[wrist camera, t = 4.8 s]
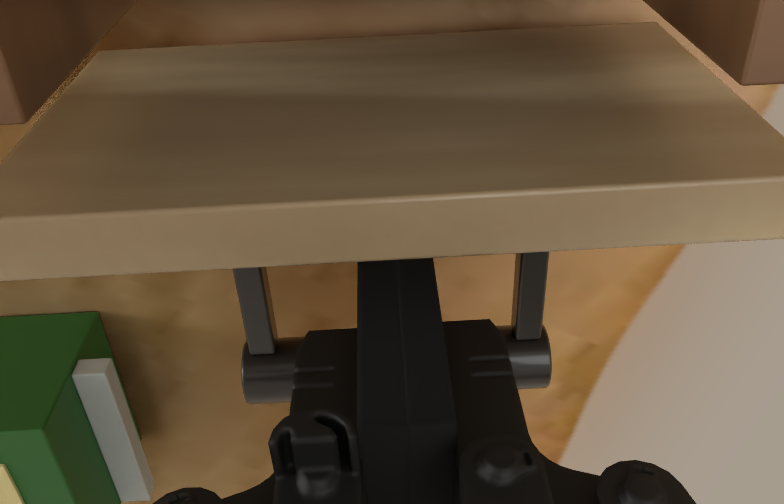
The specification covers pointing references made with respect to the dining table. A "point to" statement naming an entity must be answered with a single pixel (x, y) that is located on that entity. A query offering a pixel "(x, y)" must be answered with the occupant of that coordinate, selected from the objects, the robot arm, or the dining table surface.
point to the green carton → (66, 415)
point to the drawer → (382, 153)
